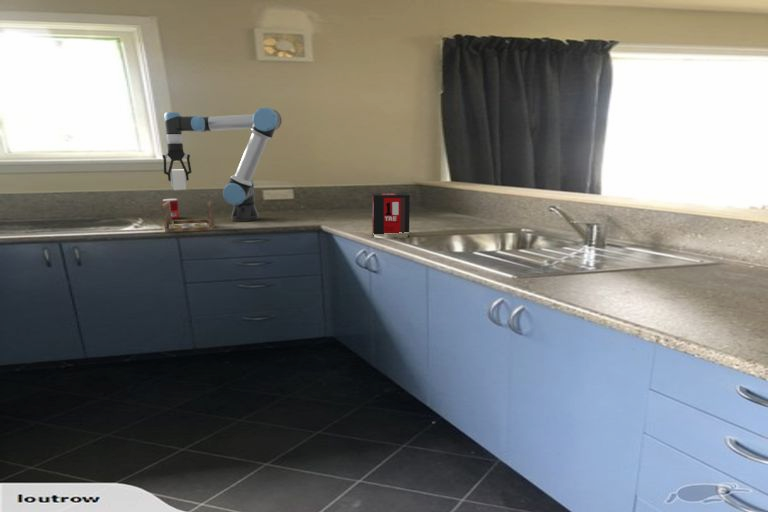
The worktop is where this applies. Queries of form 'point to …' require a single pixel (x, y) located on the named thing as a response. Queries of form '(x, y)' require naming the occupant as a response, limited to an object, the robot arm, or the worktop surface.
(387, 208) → the cleaning product box
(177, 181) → the product carton
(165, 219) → the facing shelf
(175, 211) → the canned food
